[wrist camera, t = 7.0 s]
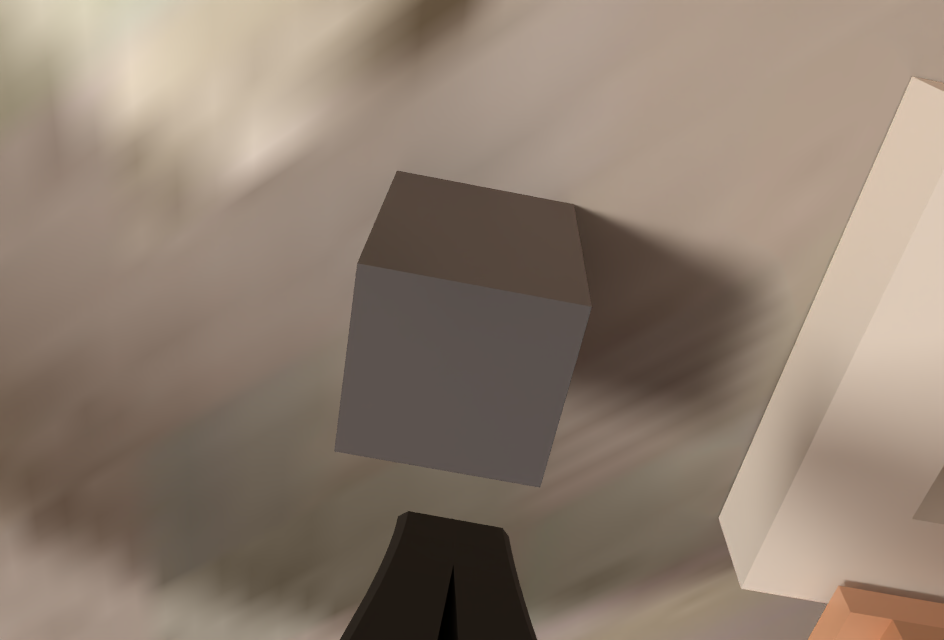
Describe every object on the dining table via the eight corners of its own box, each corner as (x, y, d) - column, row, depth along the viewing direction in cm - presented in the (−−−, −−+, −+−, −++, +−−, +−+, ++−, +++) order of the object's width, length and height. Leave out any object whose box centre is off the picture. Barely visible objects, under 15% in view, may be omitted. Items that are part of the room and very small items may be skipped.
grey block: (535, 353, 20) (540, 487, 15) (375, 324, 20) (334, 451, 15) (574, 203, 18) (591, 306, 13) (397, 170, 18) (357, 262, 13)
